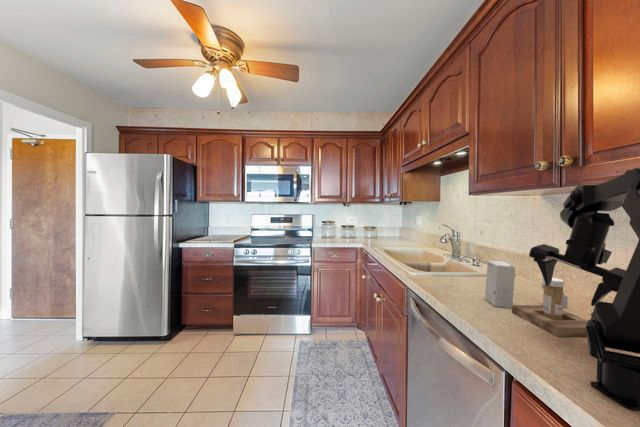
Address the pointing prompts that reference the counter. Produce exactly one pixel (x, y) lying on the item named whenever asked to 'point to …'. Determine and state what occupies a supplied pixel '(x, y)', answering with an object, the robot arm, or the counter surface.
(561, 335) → the brown wooden tray
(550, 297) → the sprinkles bottle
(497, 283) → the skincare box
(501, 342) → the counter surface
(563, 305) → the lighter
